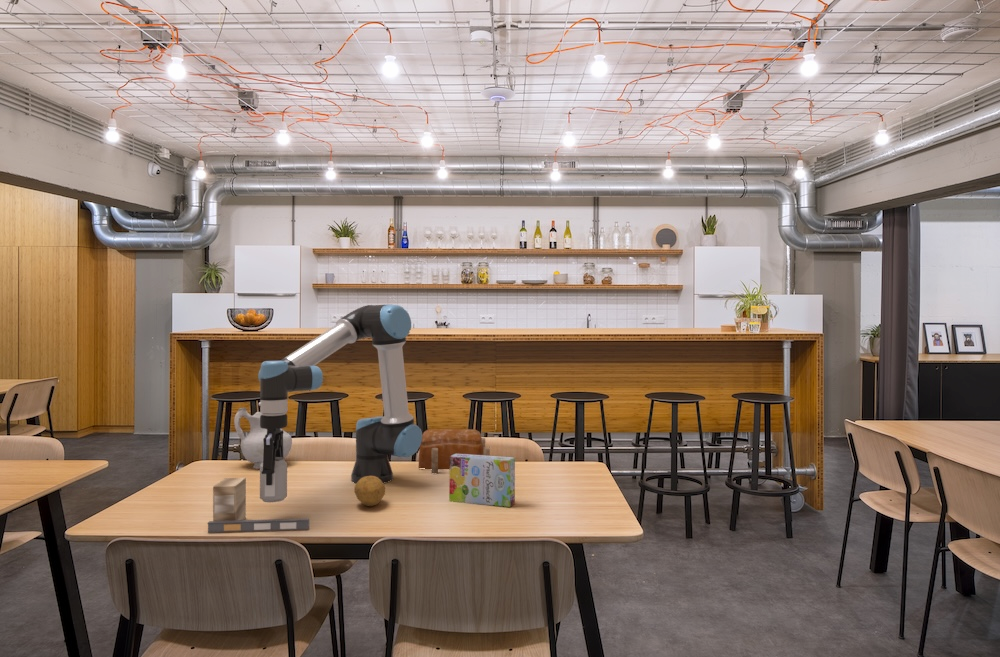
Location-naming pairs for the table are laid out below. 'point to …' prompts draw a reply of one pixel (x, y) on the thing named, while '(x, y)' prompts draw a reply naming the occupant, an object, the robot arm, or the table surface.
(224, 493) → the kraft box
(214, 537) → the table surface
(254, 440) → the ceramic pitcher
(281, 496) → the can
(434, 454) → the twin upright posts
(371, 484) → the potato
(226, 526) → the rail
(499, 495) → the snack box
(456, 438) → the bread
